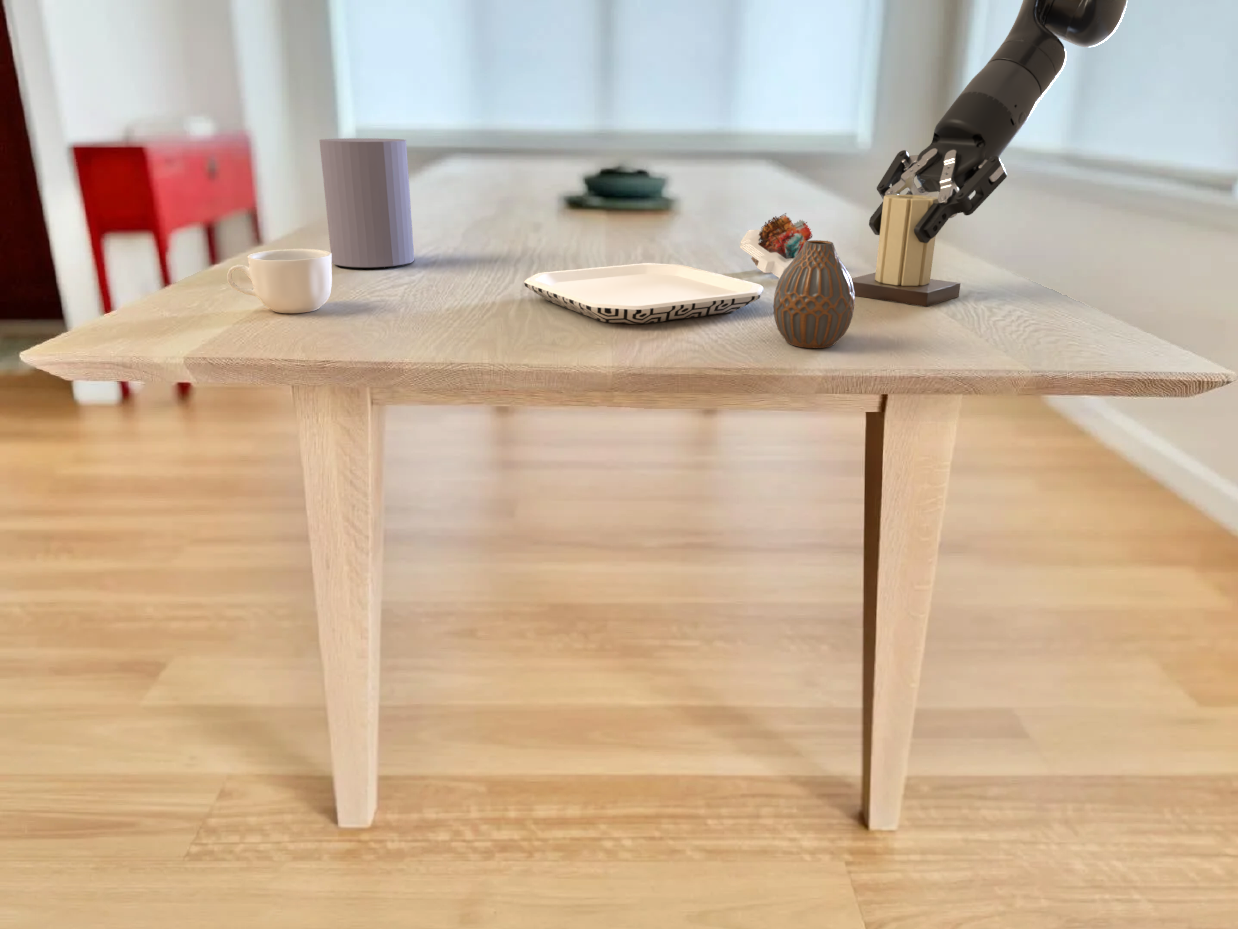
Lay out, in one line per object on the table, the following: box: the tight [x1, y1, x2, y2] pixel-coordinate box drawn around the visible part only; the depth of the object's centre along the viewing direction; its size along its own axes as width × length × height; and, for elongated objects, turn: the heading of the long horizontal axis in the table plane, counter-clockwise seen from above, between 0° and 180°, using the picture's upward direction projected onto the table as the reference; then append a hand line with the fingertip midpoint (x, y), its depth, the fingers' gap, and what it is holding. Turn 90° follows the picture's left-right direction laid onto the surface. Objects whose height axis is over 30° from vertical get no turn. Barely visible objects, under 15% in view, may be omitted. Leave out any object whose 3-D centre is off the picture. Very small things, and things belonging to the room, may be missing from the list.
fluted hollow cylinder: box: [875, 194, 939, 286], centre depth 101 cm, size 6×6×9 cm
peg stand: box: [851, 272, 961, 308], centre depth 101 cm, size 10×8×8 cm
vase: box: [773, 239, 856, 349], centre depth 80 cm, size 7×7×9 cm
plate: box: [523, 262, 765, 325], centre depth 97 cm, size 21×21×2 cm
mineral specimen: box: [739, 212, 813, 280], centre depth 116 cm, size 12×12×7 cm
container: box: [319, 137, 415, 270], centre depth 116 cm, size 10×10×15 cm
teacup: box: [226, 248, 333, 314], centre depth 92 cm, size 10×8×5 cm
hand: (896, 233), depth 99 cm, fingers closed on fluted hollow cylinder, 6 cm apart
